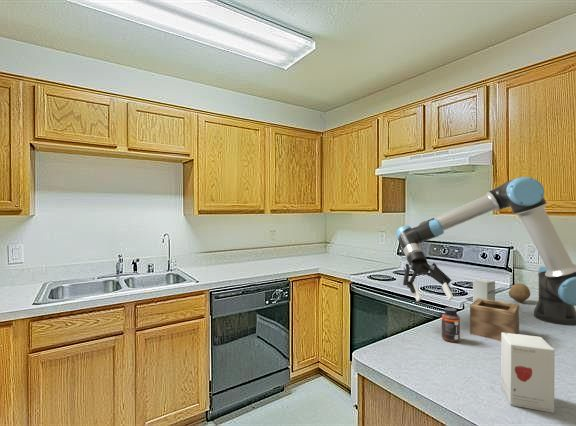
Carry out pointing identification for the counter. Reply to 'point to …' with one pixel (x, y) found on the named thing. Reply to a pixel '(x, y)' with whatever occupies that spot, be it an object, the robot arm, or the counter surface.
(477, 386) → the counter surface
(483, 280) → the supplement box
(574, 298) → the robot arm
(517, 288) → the natural sponge
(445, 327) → the supplement bottle
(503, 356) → the supplement box
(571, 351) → the counter surface
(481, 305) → the box
